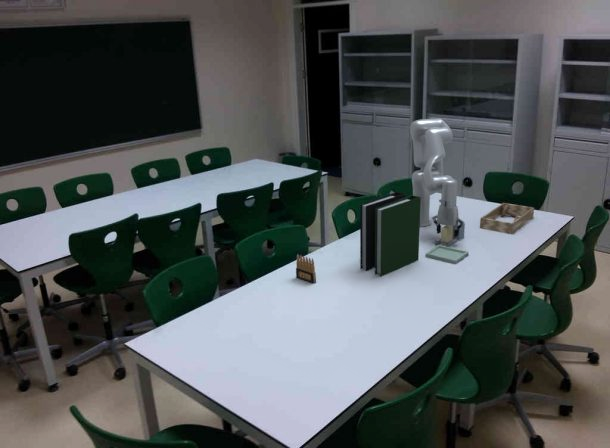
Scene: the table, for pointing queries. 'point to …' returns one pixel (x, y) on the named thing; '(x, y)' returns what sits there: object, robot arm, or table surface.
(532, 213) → the frame
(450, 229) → the block
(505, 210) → the toilet paper hanger
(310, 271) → the ammunition clip
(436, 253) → the tray
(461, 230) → the dispenser
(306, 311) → the table surface
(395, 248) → the pair of upright books
